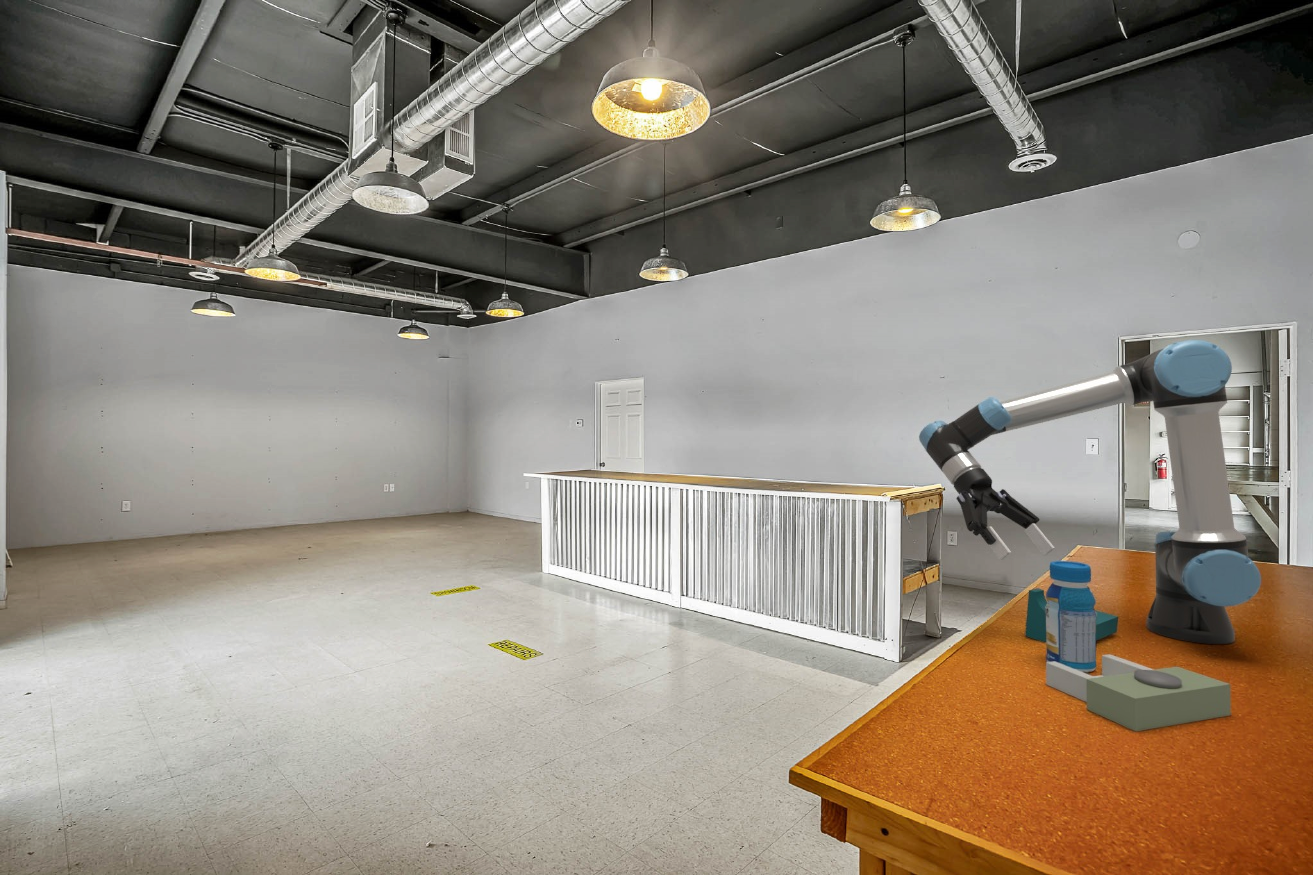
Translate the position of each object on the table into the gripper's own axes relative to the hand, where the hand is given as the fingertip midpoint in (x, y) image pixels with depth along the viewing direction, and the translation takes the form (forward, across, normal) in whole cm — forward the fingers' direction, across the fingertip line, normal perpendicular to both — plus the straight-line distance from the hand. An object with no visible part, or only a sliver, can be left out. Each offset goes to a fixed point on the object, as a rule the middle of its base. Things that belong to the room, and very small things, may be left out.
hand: (1028, 554), depth 129 cm
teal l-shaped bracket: (+13, -18, -16) cm, 27 cm away
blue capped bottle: (+21, 0, -8) cm, 22 cm away
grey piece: (+31, +7, +2) cm, 32 cm away
